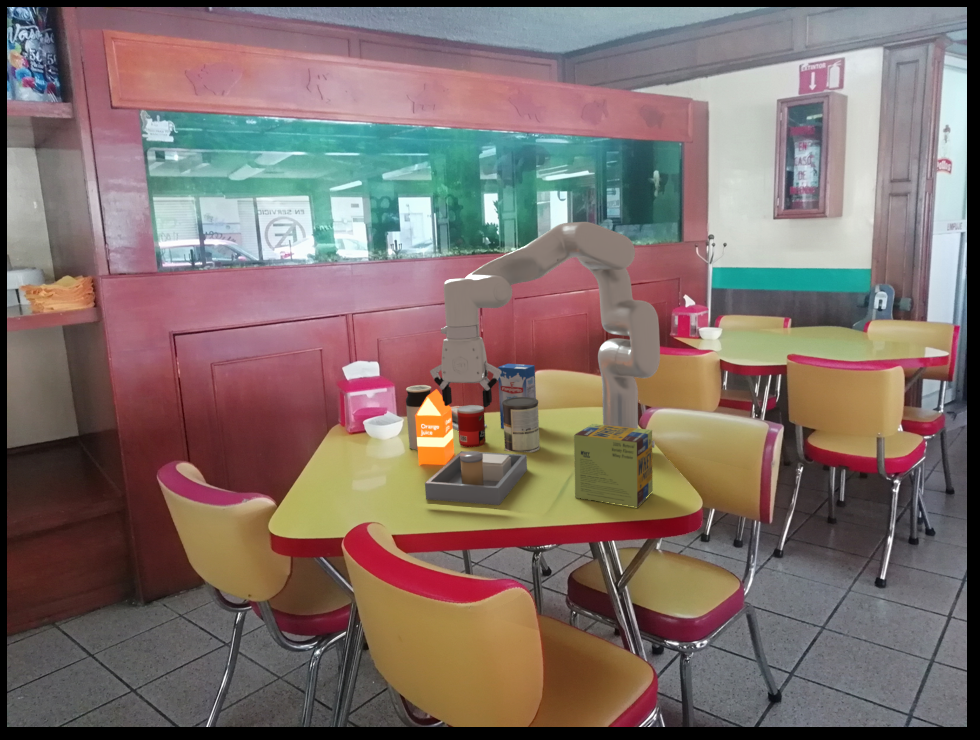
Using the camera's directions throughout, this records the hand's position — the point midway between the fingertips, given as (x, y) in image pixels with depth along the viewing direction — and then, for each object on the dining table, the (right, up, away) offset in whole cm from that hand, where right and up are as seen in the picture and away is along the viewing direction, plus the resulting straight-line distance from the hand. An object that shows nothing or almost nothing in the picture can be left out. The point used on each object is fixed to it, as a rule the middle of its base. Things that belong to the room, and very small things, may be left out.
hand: (467, 405), depth 161 cm
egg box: (+5, -19, +14) cm, 24 cm away
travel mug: (-15, -15, +45) cm, 49 cm away
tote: (+3, -21, +9) cm, 23 cm away
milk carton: (+15, -10, +60) cm, 62 cm away
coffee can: (+15, -15, +38) cm, 43 cm away
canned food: (0, -14, +45) cm, 47 cm away
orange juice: (-9, -18, +29) cm, 36 cm away
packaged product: (-4, -10, +68) cm, 69 cm away
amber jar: (+1, -21, +4) cm, 21 cm away
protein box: (+34, -21, -1) cm, 40 cm away
